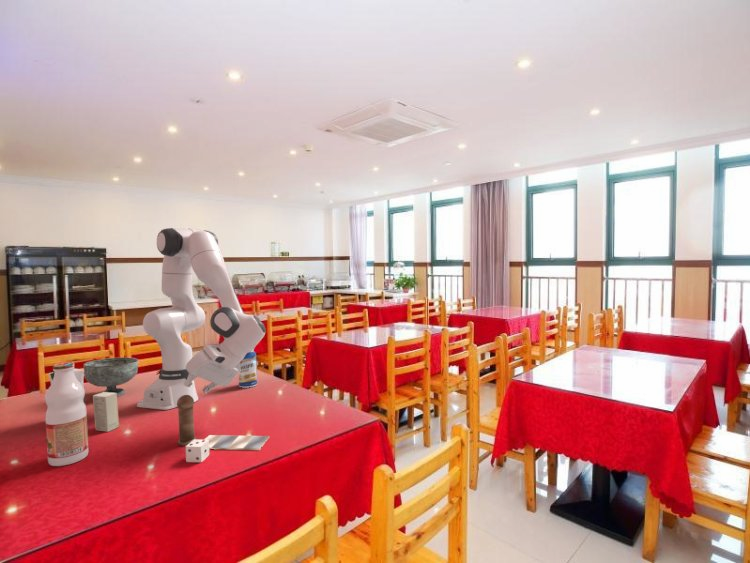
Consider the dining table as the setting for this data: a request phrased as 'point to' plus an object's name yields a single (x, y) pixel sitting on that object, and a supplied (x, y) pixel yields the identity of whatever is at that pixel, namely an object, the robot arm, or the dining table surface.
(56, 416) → the fruit juice
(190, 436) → the pawn
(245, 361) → the beverage bottle
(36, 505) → the dining table surface
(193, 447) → the die
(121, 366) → the bowl
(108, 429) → the skincare box
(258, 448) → the board
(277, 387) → the dining table surface
